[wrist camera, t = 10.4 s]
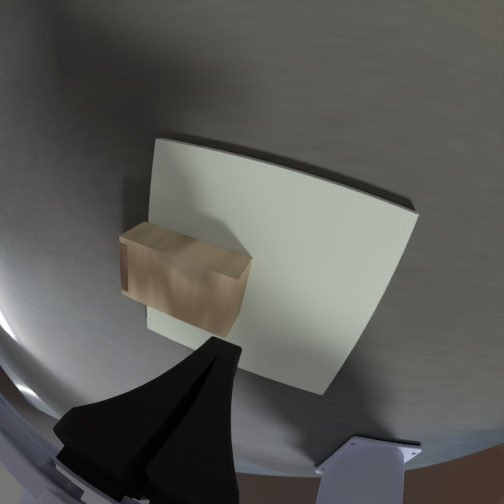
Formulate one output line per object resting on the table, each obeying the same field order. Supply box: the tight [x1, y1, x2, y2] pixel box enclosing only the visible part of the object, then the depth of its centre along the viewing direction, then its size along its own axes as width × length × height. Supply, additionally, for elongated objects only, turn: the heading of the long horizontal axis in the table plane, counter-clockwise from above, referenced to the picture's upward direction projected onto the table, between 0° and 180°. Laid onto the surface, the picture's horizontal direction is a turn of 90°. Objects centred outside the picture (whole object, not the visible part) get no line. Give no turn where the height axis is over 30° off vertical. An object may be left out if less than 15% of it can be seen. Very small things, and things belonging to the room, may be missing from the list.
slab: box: [119, 221, 253, 338], centre depth 16 cm, size 4×2×7 cm
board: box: [147, 138, 419, 395], centre depth 17 cm, size 14×14×1 cm
